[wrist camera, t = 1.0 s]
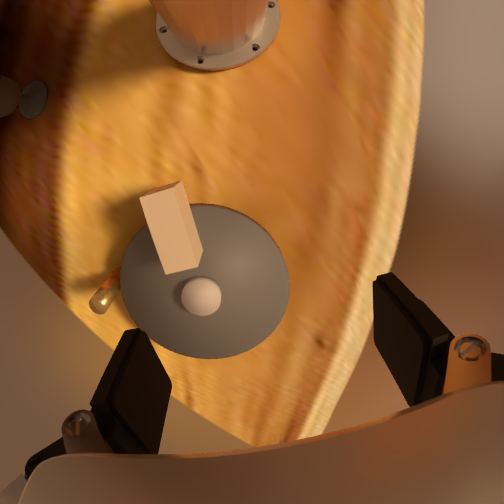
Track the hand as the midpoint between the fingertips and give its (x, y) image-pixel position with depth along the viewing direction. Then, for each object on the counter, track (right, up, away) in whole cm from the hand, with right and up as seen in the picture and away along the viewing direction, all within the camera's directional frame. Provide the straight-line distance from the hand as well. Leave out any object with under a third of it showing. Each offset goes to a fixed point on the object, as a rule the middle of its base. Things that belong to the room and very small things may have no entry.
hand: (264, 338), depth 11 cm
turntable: (-5, 0, +21) cm, 22 cm away
